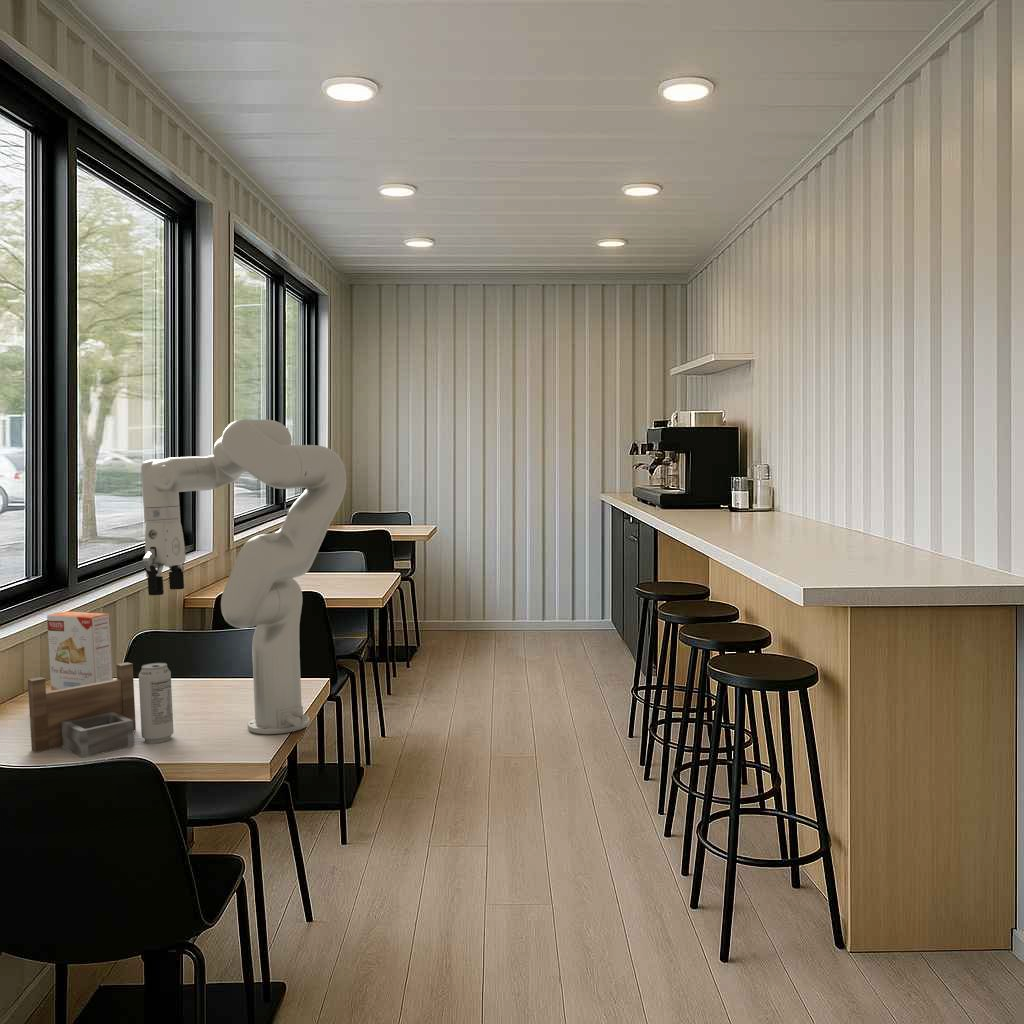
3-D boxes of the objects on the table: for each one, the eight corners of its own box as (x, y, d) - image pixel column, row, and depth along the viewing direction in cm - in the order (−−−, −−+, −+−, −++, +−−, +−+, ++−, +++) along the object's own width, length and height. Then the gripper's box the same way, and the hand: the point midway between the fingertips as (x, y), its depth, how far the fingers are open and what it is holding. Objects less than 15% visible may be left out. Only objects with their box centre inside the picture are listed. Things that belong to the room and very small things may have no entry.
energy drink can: (163, 733, 195) (160, 661, 194) (179, 738, 191) (176, 664, 191) (135, 740, 191) (132, 666, 190) (152, 745, 187) (148, 669, 186)
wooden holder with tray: (158, 739, 191) (154, 670, 190) (55, 763, 177) (51, 689, 176) (131, 728, 200) (127, 662, 199) (31, 749, 186) (27, 679, 185)
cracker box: (50, 702, 224) (45, 614, 223) (70, 696, 230) (66, 610, 229) (95, 706, 219) (90, 616, 218) (115, 700, 225) (110, 612, 223)
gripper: (159, 516, 202) (164, 596, 203) (195, 512, 219) (199, 586, 220) (126, 518, 203) (131, 597, 204) (164, 513, 220) (169, 587, 221)
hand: (166, 591), depth 212 cm, fingers open, 9 cm apart
